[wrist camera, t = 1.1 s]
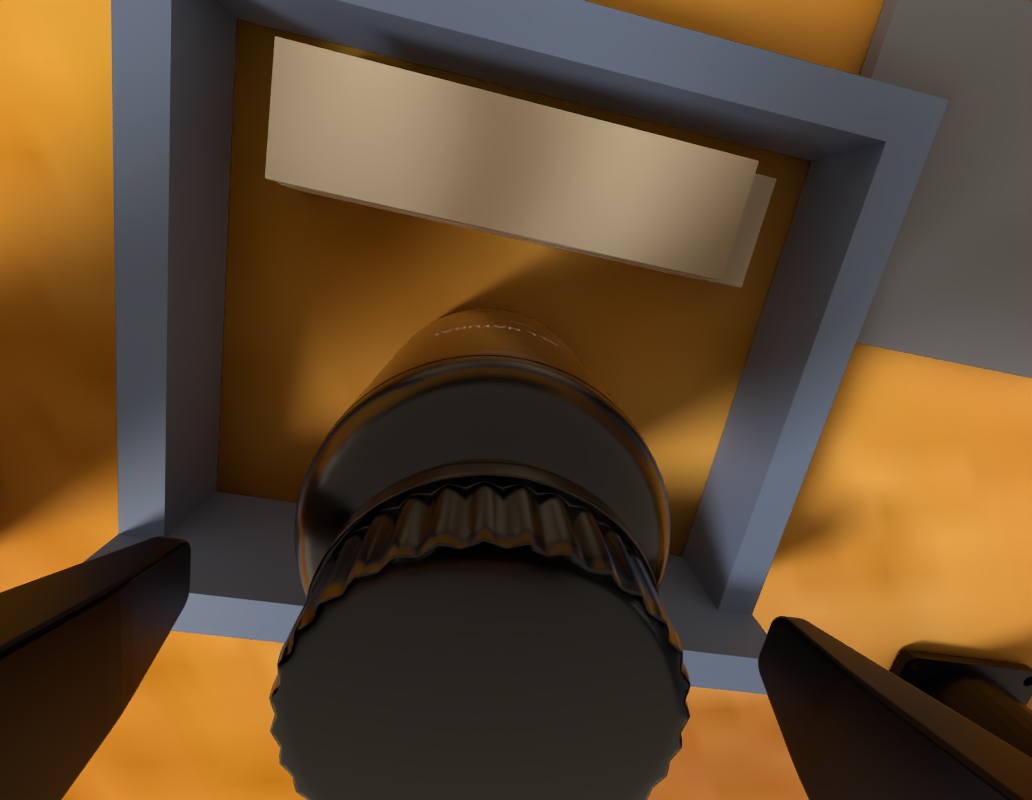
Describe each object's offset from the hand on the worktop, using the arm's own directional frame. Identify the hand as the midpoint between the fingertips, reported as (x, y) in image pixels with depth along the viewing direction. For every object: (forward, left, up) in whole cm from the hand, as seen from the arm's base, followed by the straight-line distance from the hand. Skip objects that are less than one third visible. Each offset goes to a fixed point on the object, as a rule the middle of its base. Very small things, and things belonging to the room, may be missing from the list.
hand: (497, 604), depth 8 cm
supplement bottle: (0, 0, -10) cm, 10 cm away
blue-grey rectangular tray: (0, -2, -10) cm, 10 cm away
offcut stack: (0, -7, -10) cm, 12 cm away
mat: (-14, -10, -10) cm, 19 cm away
